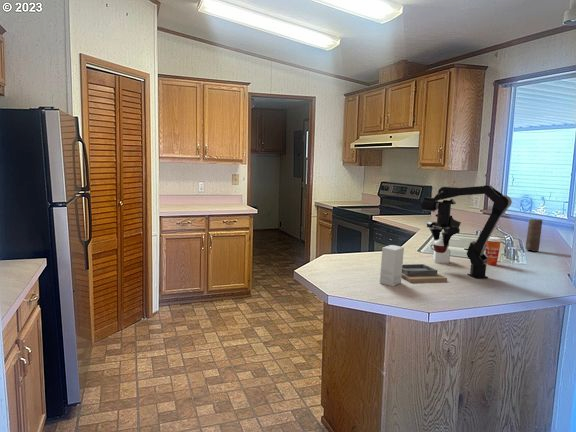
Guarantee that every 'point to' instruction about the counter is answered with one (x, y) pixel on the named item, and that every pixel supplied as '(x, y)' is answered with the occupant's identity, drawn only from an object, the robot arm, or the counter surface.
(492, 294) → the counter surface
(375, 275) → the counter surface
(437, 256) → the medicine bottle
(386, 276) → the skincare box
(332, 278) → the counter surface
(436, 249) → the cocoa
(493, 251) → the paper cup
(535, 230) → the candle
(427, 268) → the tray stand
